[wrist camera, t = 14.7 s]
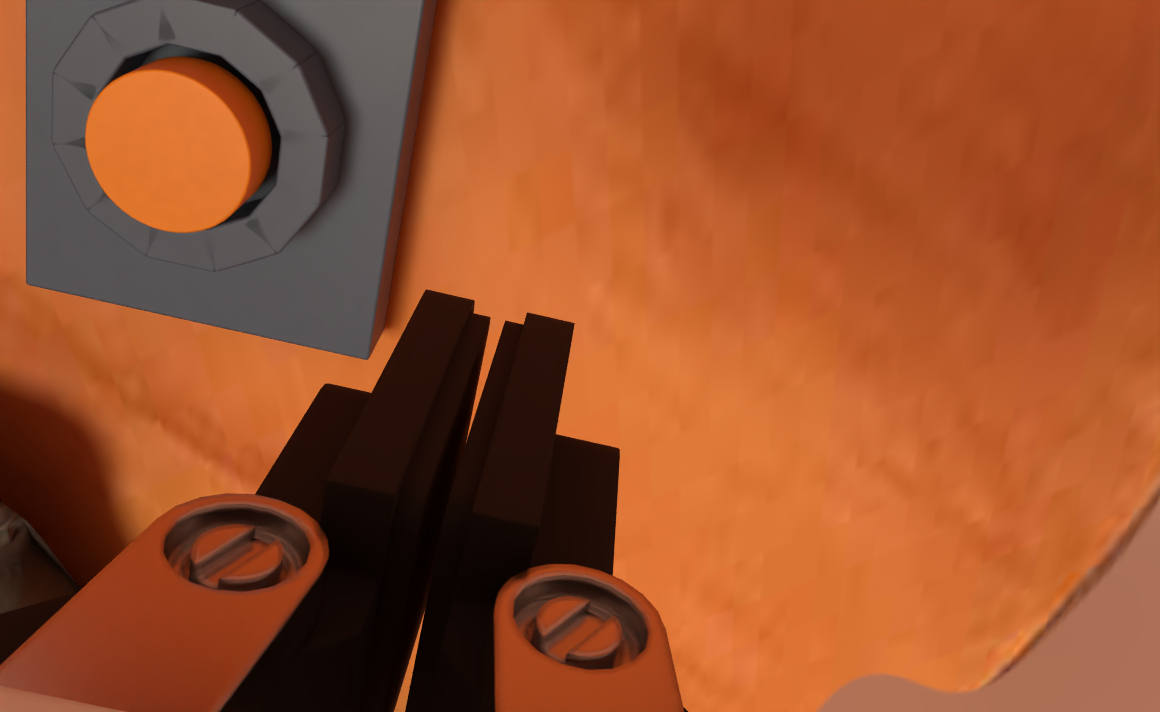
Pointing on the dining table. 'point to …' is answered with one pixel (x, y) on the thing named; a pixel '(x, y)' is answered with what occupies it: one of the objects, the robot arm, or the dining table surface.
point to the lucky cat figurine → (28, 565)
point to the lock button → (178, 143)
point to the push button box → (290, 189)
